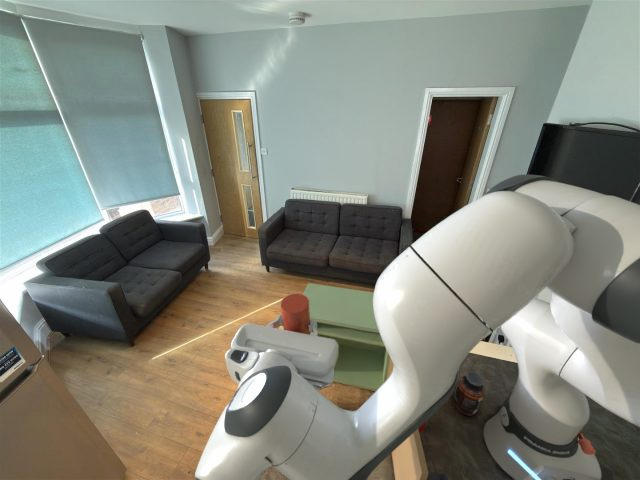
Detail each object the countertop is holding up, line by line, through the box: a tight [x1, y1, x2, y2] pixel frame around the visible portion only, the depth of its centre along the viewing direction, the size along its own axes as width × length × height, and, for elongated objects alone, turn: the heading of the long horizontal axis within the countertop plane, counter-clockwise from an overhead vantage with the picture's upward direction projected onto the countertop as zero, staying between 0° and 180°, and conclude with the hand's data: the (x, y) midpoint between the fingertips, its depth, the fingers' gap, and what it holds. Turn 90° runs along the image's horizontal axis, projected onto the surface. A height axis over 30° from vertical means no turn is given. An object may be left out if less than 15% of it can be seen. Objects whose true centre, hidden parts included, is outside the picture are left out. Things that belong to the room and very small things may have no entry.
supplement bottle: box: [452, 371, 486, 416], centre depth 69 cm, size 6×6×11 cm
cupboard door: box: [387, 358, 450, 480], centre depth 56 cm, size 6×26×24 cm, turn 175°
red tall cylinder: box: [280, 293, 311, 335], centre depth 56 cm, size 6×6×12 cm
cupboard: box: [302, 282, 390, 392], centre depth 78 cm, size 14×26×24 cm, turn 75°
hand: (297, 319), depth 56 cm, fingers closed on red tall cylinder, 6 cm apart
